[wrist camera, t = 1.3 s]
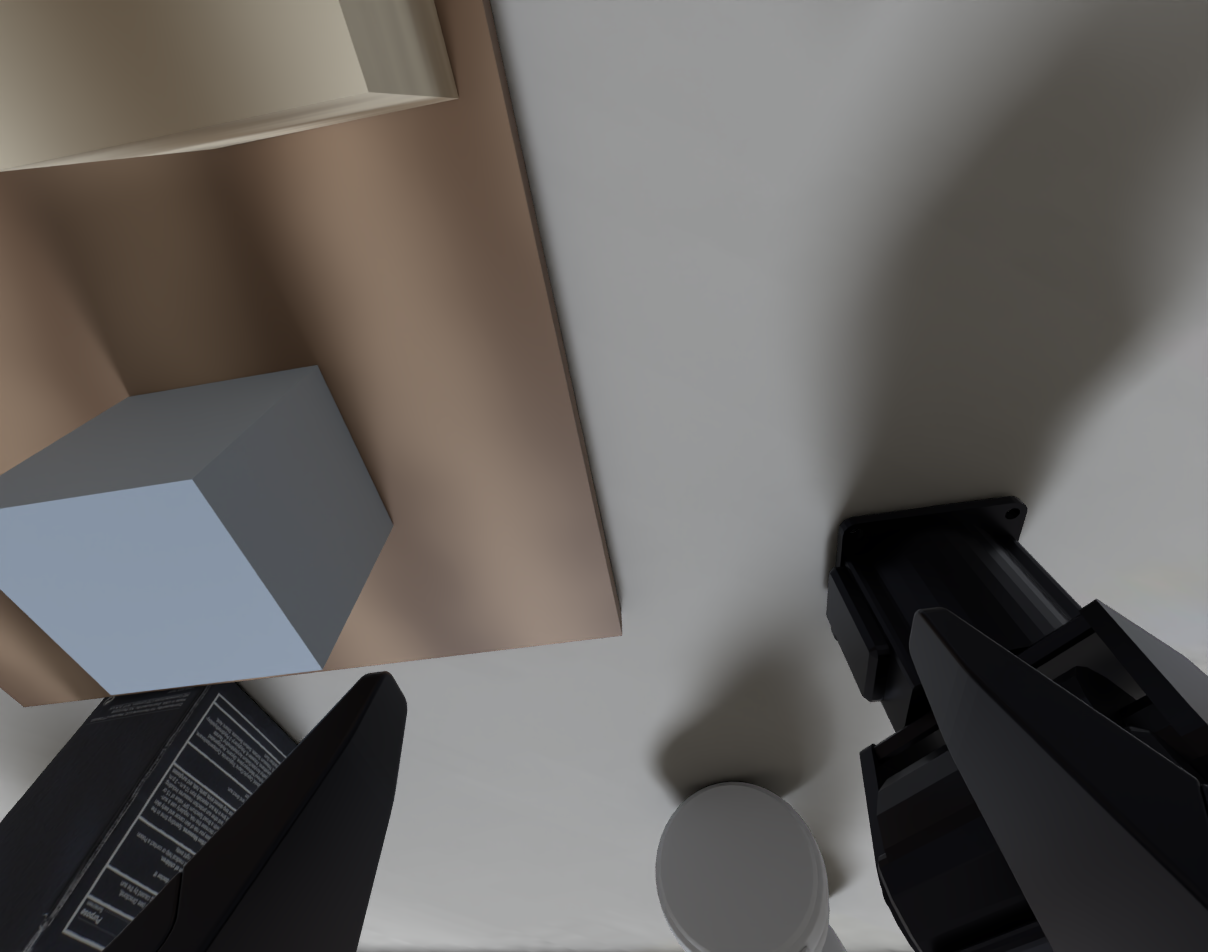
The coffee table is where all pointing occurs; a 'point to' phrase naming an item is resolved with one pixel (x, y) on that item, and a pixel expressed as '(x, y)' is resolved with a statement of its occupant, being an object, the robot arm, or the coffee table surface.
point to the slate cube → (195, 533)
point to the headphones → (743, 875)
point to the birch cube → (204, 72)
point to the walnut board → (332, 350)
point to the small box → (127, 811)
